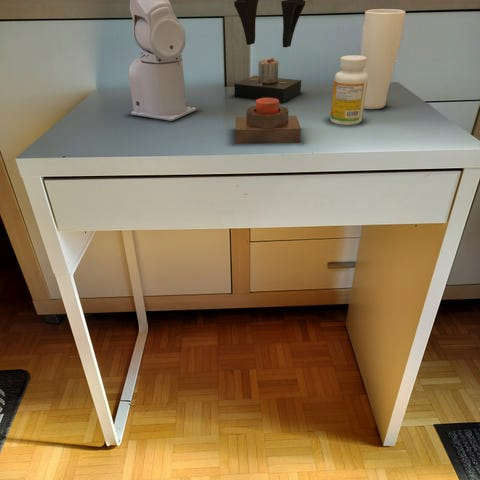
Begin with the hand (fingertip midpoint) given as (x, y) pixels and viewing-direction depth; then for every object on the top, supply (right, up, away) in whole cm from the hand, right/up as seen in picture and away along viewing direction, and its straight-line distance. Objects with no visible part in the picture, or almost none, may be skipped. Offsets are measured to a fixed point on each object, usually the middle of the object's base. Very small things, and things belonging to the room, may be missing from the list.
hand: (268, 45), depth 86 cm
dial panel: (0, -5, +8) cm, 10 cm away
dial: (0, -3, +6) cm, 7 cm away
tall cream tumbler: (+19, -12, 0) cm, 23 cm away
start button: (-1, -20, -15) cm, 25 cm away
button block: (-1, -22, -13) cm, 26 cm away
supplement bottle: (+13, -18, -7) cm, 23 cm away
